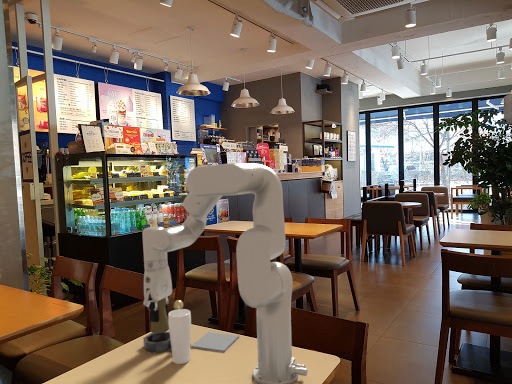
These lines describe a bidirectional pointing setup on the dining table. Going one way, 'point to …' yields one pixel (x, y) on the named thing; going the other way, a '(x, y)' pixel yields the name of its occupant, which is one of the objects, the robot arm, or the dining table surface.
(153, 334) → the ring stand
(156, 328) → the olive rounded tall piece
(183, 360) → the drinking glass
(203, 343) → the mat
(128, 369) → the dining table surface
